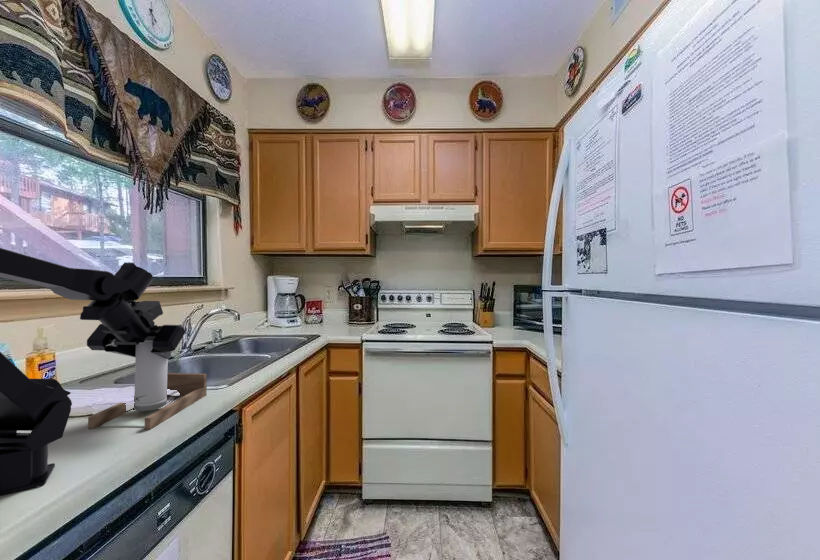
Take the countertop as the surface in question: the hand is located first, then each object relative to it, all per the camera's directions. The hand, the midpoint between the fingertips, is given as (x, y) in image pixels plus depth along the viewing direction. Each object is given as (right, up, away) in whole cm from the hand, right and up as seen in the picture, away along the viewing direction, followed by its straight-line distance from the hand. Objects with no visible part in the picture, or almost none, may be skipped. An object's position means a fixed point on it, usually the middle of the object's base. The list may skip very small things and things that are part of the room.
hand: (155, 357), depth 83 cm
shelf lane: (0, -13, 0) cm, 13 cm away
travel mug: (0, -12, -1) cm, 12 cm away
